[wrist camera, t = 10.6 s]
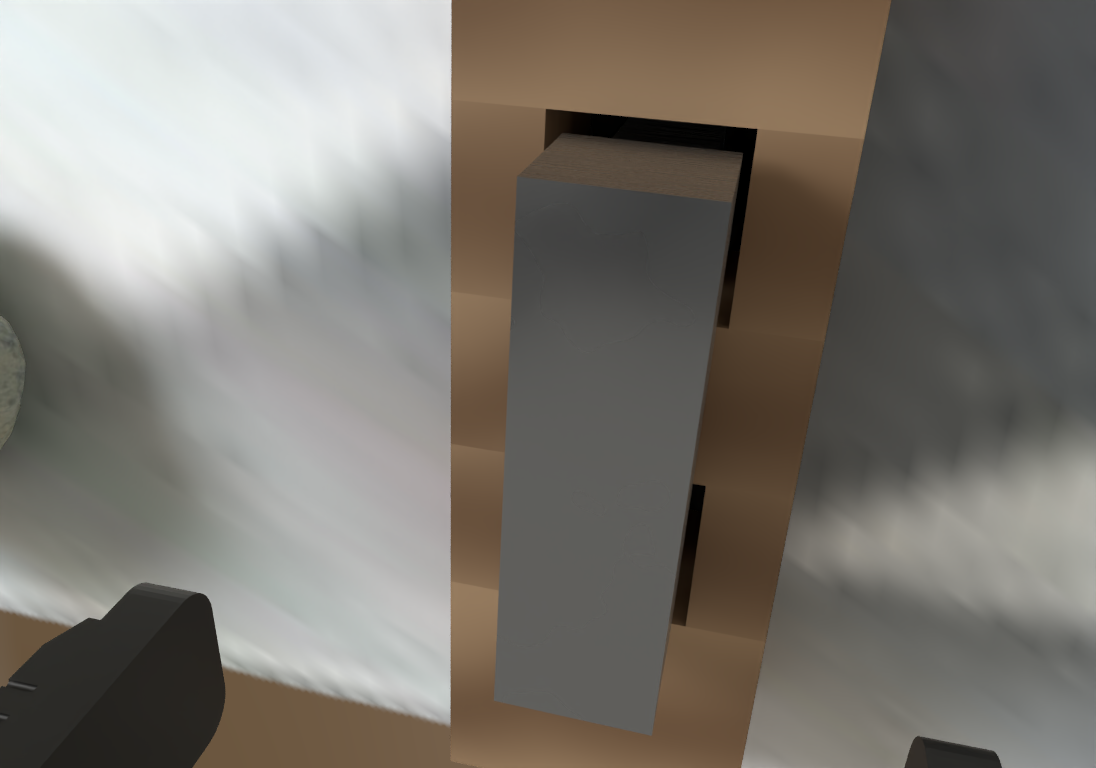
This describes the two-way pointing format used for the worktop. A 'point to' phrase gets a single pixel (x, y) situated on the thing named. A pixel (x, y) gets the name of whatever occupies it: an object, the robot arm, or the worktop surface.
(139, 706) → the robot arm
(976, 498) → the worktop surface
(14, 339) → the decorative stone
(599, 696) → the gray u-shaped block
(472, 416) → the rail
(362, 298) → the worktop surface
